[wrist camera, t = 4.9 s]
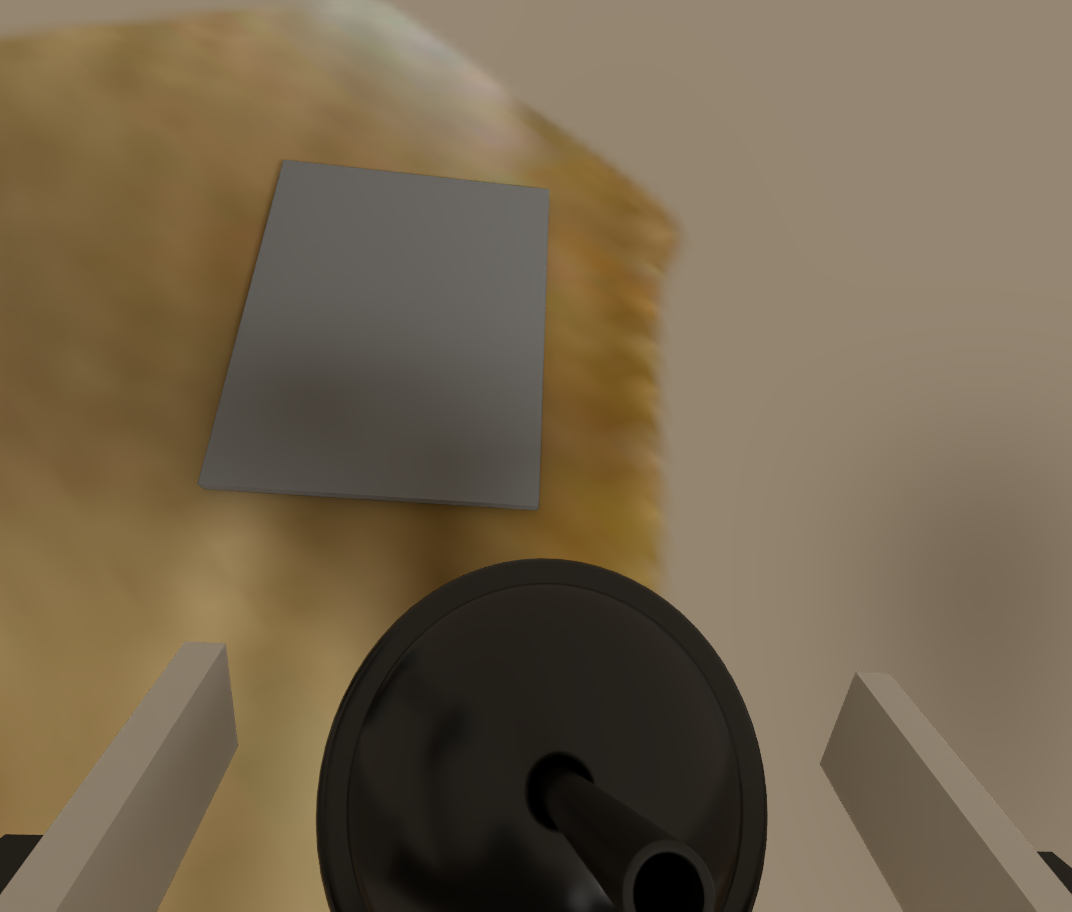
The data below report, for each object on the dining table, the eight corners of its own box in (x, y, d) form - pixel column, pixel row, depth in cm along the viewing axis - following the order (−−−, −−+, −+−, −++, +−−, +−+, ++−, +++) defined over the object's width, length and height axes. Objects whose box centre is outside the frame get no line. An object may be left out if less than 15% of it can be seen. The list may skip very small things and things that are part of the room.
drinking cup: (417, 884, 21) (8, 2448, 2) (387, 655, 23) (86, 487, 5) (626, 821, 22) (1456, 1448, 4) (575, 613, 25) (900, 356, 6)
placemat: (203, 488, 25) (197, 484, 24) (286, 169, 32) (283, 159, 31) (537, 510, 26) (538, 506, 26) (547, 198, 33) (549, 189, 32)
